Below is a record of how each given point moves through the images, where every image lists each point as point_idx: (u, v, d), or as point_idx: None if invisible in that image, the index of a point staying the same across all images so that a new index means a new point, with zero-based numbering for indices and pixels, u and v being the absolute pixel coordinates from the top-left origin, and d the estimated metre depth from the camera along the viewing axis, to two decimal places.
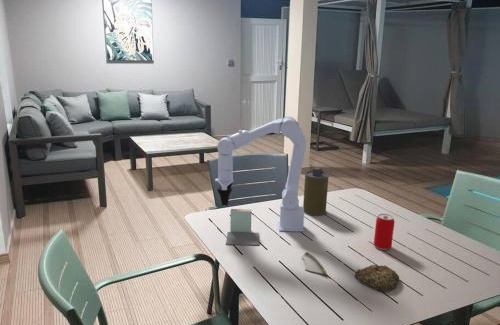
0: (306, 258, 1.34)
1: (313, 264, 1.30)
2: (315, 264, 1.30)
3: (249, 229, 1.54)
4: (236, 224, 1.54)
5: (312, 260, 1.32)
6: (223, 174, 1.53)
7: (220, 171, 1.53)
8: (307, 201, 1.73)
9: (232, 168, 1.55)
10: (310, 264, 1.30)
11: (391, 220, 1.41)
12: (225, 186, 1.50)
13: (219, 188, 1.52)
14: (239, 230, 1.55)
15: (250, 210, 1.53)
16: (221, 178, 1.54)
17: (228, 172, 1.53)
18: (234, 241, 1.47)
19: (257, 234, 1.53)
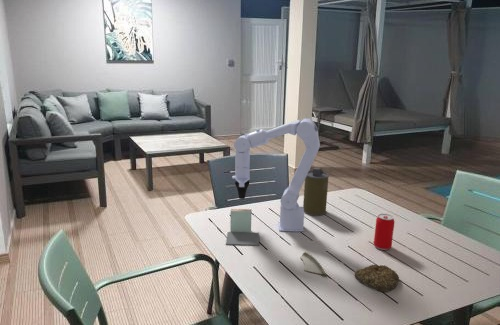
0: (305, 258, 1.34)
1: (312, 264, 1.30)
2: (314, 264, 1.30)
3: (249, 229, 1.54)
4: (236, 224, 1.54)
5: (311, 260, 1.32)
6: (240, 171, 1.56)
7: (237, 168, 1.56)
8: (307, 201, 1.73)
9: (249, 166, 1.57)
10: (309, 264, 1.30)
11: (391, 220, 1.41)
12: (243, 183, 1.52)
13: (237, 182, 1.59)
14: (239, 230, 1.55)
15: (250, 210, 1.53)
16: (239, 176, 1.57)
17: (245, 169, 1.56)
18: (234, 241, 1.47)
19: (257, 234, 1.53)
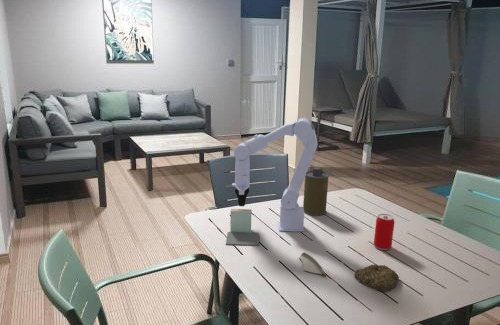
0: (303, 259, 1.34)
1: (312, 264, 1.30)
2: (313, 264, 1.29)
3: (249, 229, 1.54)
4: (236, 224, 1.54)
5: (310, 260, 1.31)
6: (240, 179, 1.56)
7: (237, 176, 1.57)
8: (307, 201, 1.73)
9: (249, 173, 1.57)
10: (308, 264, 1.30)
11: (391, 220, 1.41)
12: (242, 191, 1.53)
13: (237, 190, 1.59)
14: (239, 230, 1.55)
15: (250, 210, 1.53)
16: (238, 183, 1.57)
17: (245, 177, 1.56)
18: (234, 241, 1.47)
19: (257, 234, 1.53)
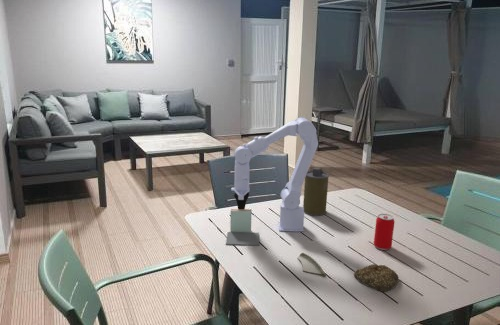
0: (302, 259, 1.34)
1: (311, 264, 1.30)
2: (312, 265, 1.29)
3: (249, 229, 1.54)
4: (236, 224, 1.54)
5: (309, 261, 1.31)
6: (239, 183, 1.51)
7: (237, 180, 1.51)
8: (307, 201, 1.73)
9: None
10: (307, 265, 1.30)
11: (391, 220, 1.41)
12: (242, 196, 1.48)
13: (236, 194, 1.54)
14: (239, 230, 1.55)
15: (250, 210, 1.53)
16: (238, 188, 1.52)
17: (245, 181, 1.51)
18: (234, 241, 1.47)
19: (257, 234, 1.53)
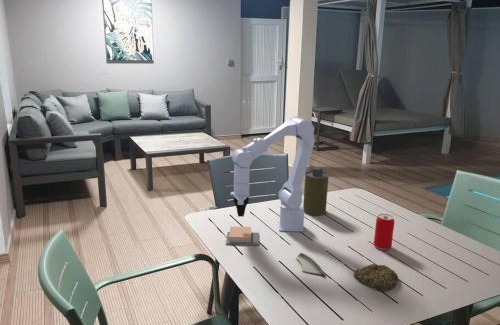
0: (301, 259, 1.33)
1: (310, 264, 1.30)
2: (312, 265, 1.29)
3: None
4: None
5: (308, 261, 1.31)
6: (239, 187, 1.46)
7: (236, 184, 1.46)
8: (307, 201, 1.73)
9: None
10: (306, 265, 1.30)
11: (391, 220, 1.41)
12: (241, 201, 1.43)
13: (235, 199, 1.49)
14: None
15: (249, 239, 1.46)
16: (237, 192, 1.47)
17: (244, 186, 1.46)
18: None
19: (257, 234, 1.53)
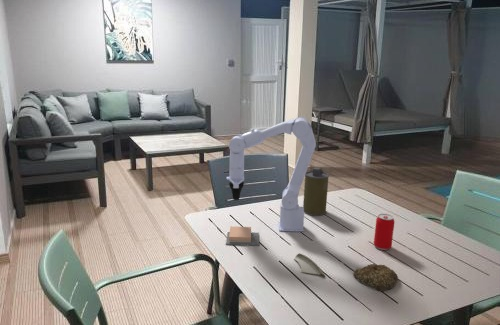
0: (299, 260, 1.33)
1: (309, 265, 1.29)
2: (310, 265, 1.29)
3: None
4: None
5: (306, 261, 1.31)
6: (234, 172, 1.54)
7: (232, 169, 1.55)
8: (307, 201, 1.73)
9: (243, 166, 1.56)
10: (305, 266, 1.29)
11: (391, 220, 1.41)
12: (237, 184, 1.51)
13: (231, 183, 1.57)
14: None
15: (249, 239, 1.46)
16: (233, 177, 1.55)
17: (240, 170, 1.54)
18: None
19: (257, 234, 1.53)
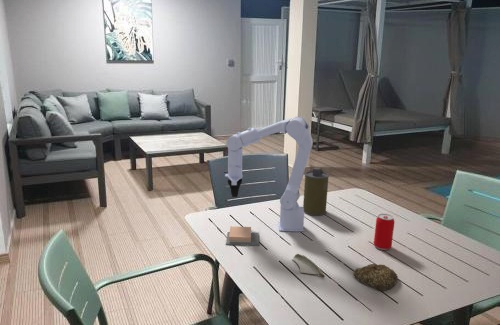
0: (298, 260, 1.33)
1: (308, 265, 1.29)
2: (309, 265, 1.29)
3: None
4: None
5: (305, 262, 1.31)
6: (232, 169, 1.58)
7: (230, 167, 1.58)
8: (307, 201, 1.73)
9: (241, 164, 1.59)
10: (304, 266, 1.29)
11: (391, 220, 1.41)
12: (235, 181, 1.54)
13: (229, 180, 1.60)
14: None
15: (249, 239, 1.46)
16: (231, 174, 1.59)
17: (238, 168, 1.58)
18: None
19: (257, 234, 1.53)
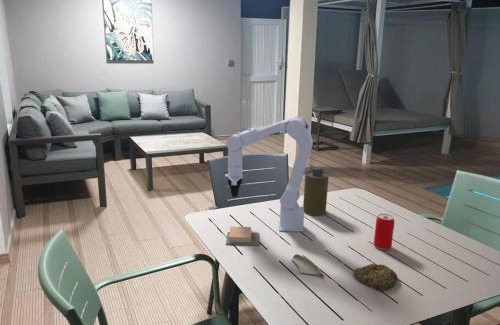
0: (297, 261, 1.33)
1: (307, 265, 1.29)
2: (309, 266, 1.29)
3: None
4: None
5: (304, 262, 1.30)
6: (232, 169, 1.58)
7: (230, 167, 1.58)
8: (307, 201, 1.73)
9: (241, 164, 1.59)
10: (303, 266, 1.29)
11: (391, 220, 1.41)
12: (235, 181, 1.54)
13: (229, 180, 1.60)
14: None
15: (249, 239, 1.46)
16: (231, 174, 1.59)
17: (238, 168, 1.58)
18: None
19: (257, 234, 1.53)
